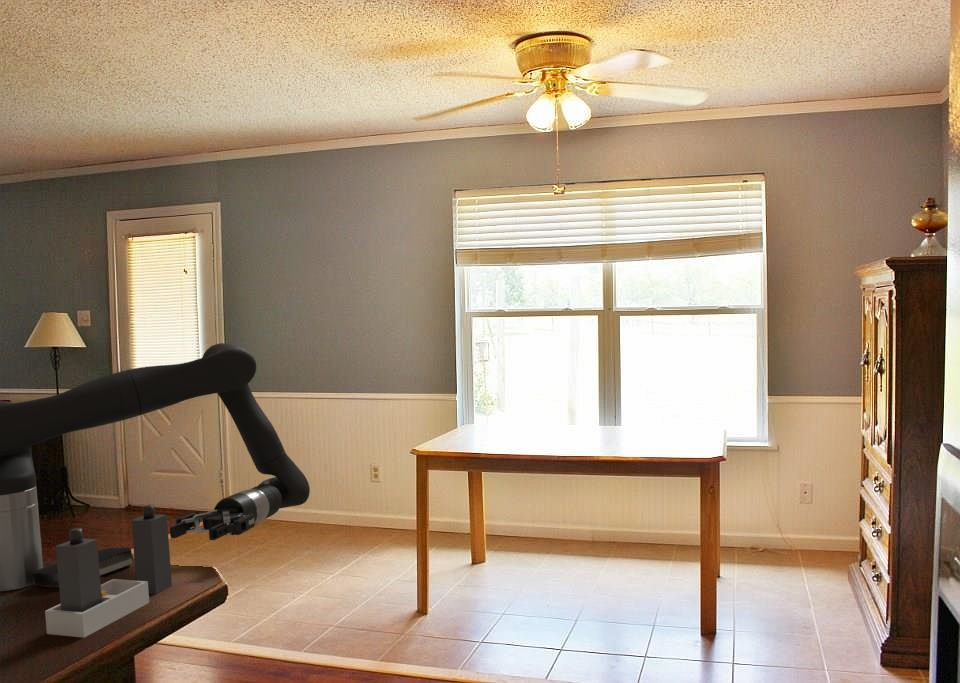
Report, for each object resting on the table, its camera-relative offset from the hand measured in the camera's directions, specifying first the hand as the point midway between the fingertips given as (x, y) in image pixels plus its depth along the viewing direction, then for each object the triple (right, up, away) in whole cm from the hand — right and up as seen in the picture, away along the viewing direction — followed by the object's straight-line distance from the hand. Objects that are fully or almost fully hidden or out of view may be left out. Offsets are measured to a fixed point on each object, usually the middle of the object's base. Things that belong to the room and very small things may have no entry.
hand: (191, 534), depth 151 cm
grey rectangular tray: (-7, -9, -22) cm, 24 cm away
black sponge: (-20, -9, +1) cm, 22 cm away
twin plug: (-8, -8, -25) cm, 27 cm away
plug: (-3, -8, -10) cm, 13 cm away
